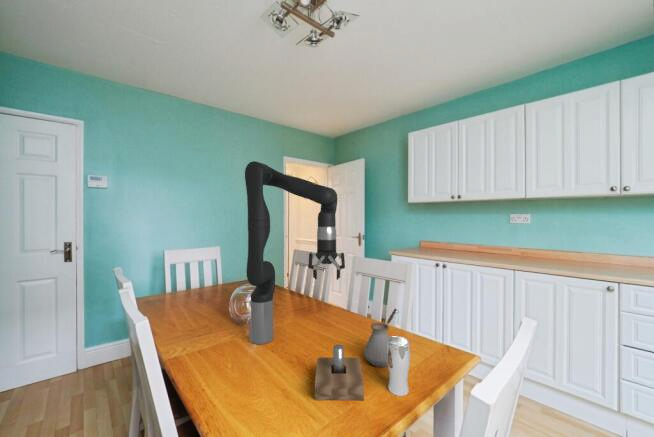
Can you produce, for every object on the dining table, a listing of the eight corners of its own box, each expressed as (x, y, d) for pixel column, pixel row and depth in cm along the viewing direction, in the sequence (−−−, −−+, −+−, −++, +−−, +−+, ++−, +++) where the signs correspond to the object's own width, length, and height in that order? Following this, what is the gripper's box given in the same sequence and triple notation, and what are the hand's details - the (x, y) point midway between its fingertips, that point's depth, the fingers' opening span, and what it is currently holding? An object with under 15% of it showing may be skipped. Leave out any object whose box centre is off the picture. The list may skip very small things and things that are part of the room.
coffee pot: (388, 374, 91) (387, 329, 91) (358, 363, 98) (357, 321, 98) (410, 348, 109) (410, 311, 108) (383, 340, 115) (383, 305, 115)
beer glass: (383, 383, 87) (383, 336, 86) (405, 381, 87) (405, 334, 87) (390, 397, 80) (390, 346, 79) (414, 396, 80) (413, 345, 80)
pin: (333, 385, 84) (333, 349, 84) (333, 378, 87) (333, 344, 87) (344, 385, 84) (343, 349, 84) (343, 379, 87) (343, 344, 87)
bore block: (315, 400, 79) (314, 382, 79) (317, 372, 93) (317, 357, 93) (363, 400, 79) (363, 383, 79) (359, 372, 93) (359, 357, 93)
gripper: (307, 238, 104) (307, 281, 105) (345, 238, 104) (345, 281, 104) (309, 237, 112) (309, 276, 112) (344, 237, 111) (344, 277, 112)
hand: (326, 279), depth 108 cm, fingers open, 8 cm apart
